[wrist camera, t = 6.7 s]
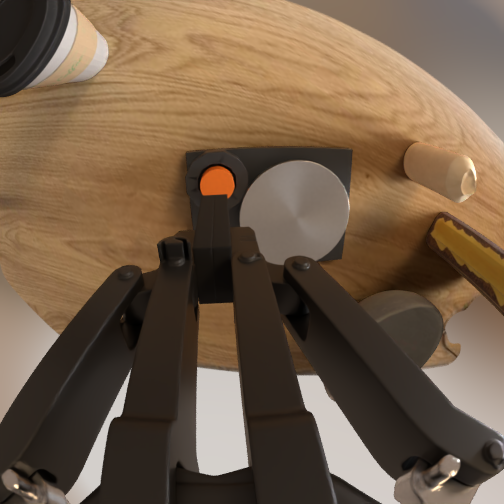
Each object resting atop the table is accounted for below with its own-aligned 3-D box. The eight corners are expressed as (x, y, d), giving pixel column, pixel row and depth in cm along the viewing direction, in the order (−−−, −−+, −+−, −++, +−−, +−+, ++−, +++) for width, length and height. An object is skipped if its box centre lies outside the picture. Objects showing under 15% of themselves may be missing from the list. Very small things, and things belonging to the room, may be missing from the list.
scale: (348, 147, 30) (360, 151, 27) (338, 254, 36) (347, 266, 34) (186, 150, 28) (183, 154, 25) (198, 266, 34) (197, 280, 32)
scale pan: (351, 160, 27) (354, 161, 27) (341, 260, 33) (342, 262, 32) (236, 161, 26) (237, 162, 26) (241, 269, 32) (241, 272, 31)
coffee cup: (81, 112, 24) (-7, 124, 10) (39, 68, 20) (-48, 64, 6) (141, 48, 22) (83, 3, 8) (93, 7, 18) (26, -39, 4)
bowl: (416, 327, 47) (441, 362, 38) (324, 375, 49) (339, 417, 40) (410, 246, 37) (450, 282, 29) (288, 307, 39) (308, 360, 31)
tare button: (232, 164, 27) (233, 168, 25) (233, 195, 28) (235, 201, 27) (199, 167, 26) (198, 170, 25) (202, 198, 28) (201, 203, 26)
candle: (437, 160, 31) (488, 181, 23) (417, 189, 33) (466, 216, 24) (417, 133, 29) (472, 148, 21) (396, 163, 31) (448, 186, 22)
